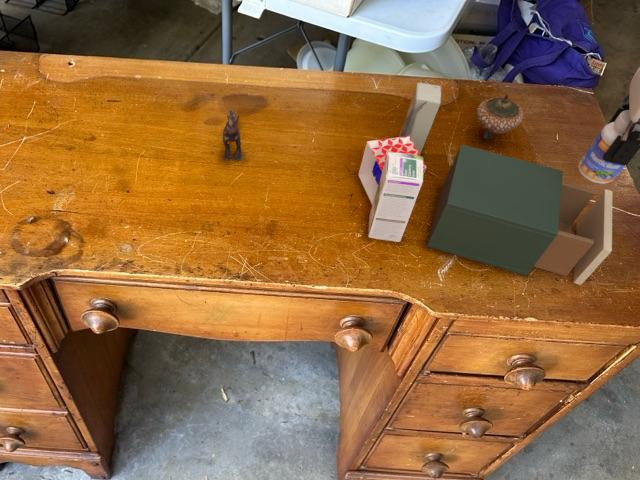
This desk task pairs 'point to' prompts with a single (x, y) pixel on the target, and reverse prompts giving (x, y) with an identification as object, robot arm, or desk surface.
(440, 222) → the cabinet
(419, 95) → the box
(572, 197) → the drawer
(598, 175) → the pill bottle
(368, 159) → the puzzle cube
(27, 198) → the desk surface
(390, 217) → the syrup box
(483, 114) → the acorn
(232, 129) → the dinosaur model
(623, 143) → the robot arm
